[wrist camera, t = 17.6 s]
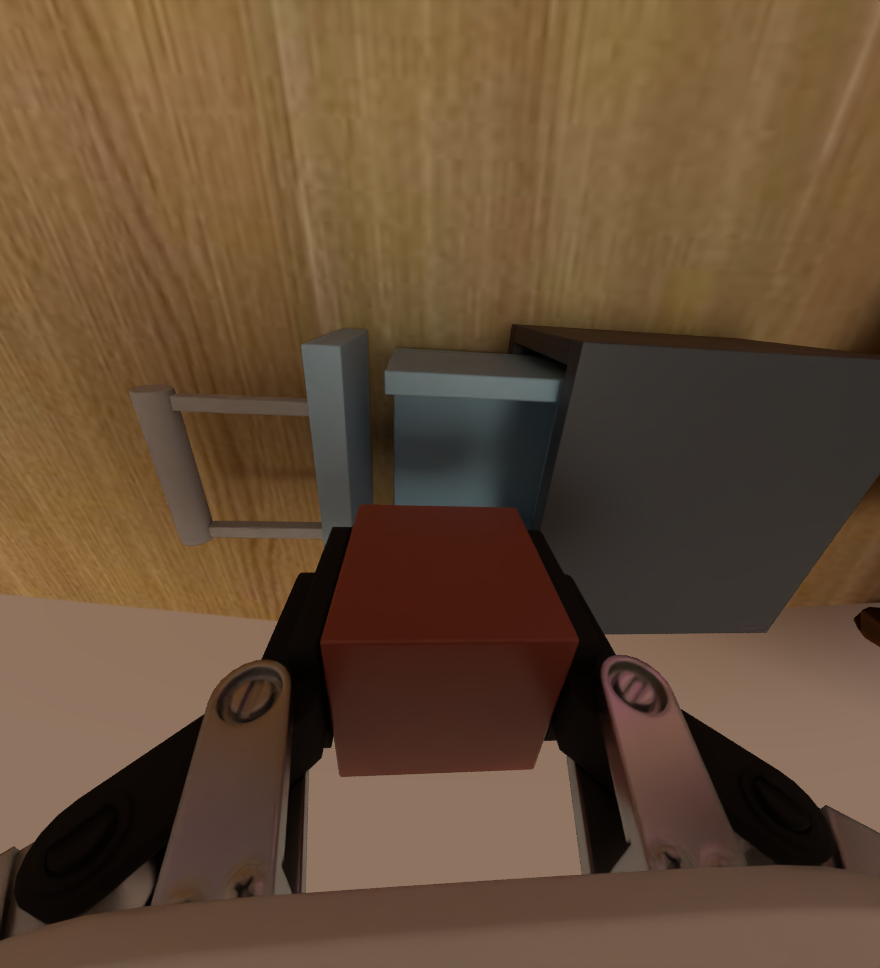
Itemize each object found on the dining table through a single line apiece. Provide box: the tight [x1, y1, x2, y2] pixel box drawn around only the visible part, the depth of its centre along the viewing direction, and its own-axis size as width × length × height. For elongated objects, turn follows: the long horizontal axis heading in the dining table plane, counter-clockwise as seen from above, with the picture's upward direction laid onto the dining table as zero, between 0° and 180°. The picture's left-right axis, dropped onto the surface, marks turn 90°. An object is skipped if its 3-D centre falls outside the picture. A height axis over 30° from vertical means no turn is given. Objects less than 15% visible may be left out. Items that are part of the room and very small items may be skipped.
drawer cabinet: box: [508, 324, 880, 634], centre depth 17 cm, size 13×13×9 cm
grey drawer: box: [129, 328, 567, 548], centre depth 16 cm, size 19×11×7 cm, turn 87°
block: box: [320, 504, 579, 777], centre depth 9 cm, size 4×4×4 cm
